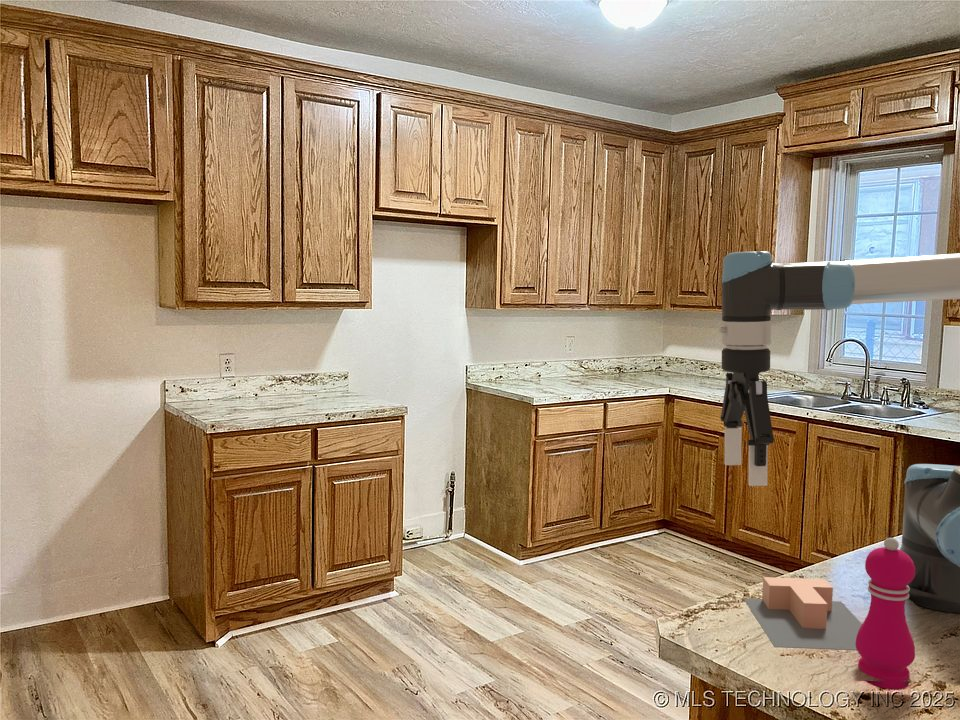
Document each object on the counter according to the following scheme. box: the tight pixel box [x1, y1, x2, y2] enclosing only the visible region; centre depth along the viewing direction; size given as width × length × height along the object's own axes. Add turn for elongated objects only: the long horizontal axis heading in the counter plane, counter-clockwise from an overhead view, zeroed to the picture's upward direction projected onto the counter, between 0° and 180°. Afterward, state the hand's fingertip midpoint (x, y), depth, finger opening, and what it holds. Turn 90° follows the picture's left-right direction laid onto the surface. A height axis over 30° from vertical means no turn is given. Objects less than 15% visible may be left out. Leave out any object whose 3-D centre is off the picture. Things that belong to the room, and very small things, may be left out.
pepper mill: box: [856, 537, 916, 690], centre depth 103 cm, size 7×7×20 cm
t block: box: [761, 576, 834, 629], centre depth 121 cm, size 10×10×4 cm
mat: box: [743, 597, 863, 651], centre depth 118 cm, size 16×17×1 cm
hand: (744, 474), depth 125 cm, fingers open, 13 cm apart
